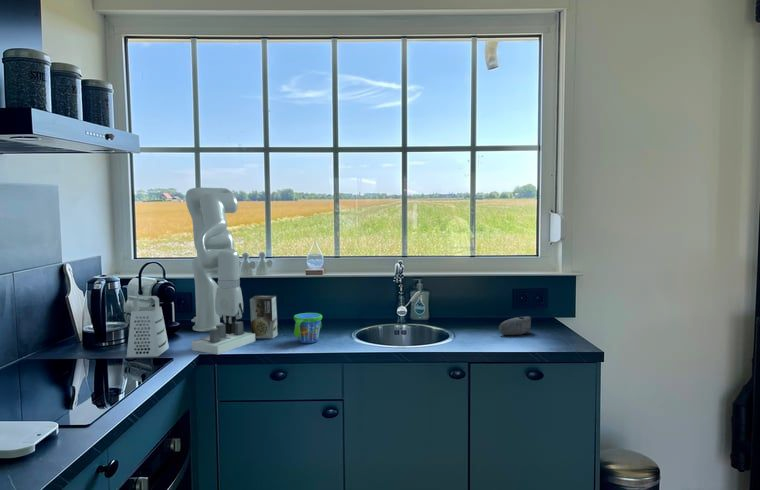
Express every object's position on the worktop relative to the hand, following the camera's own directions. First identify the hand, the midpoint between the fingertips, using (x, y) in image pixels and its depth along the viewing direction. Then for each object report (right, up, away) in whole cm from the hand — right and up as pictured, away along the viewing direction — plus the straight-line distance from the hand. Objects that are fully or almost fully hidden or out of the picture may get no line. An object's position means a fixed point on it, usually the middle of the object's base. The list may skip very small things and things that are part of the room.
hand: (230, 333), depth 177 cm
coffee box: (+9, -4, +14) cm, 17 cm away
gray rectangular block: (+1, -1, +6) cm, 6 cm away
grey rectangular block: (-4, -2, +2) cm, 5 cm away
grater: (-27, -6, -6) cm, 29 cm away
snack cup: (+28, -5, +7) cm, 29 cm away
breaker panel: (-3, -5, +2) cm, 6 cm away
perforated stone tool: (+110, -4, +15) cm, 111 cm away
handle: (-4, -2, -4) cm, 7 cm away
